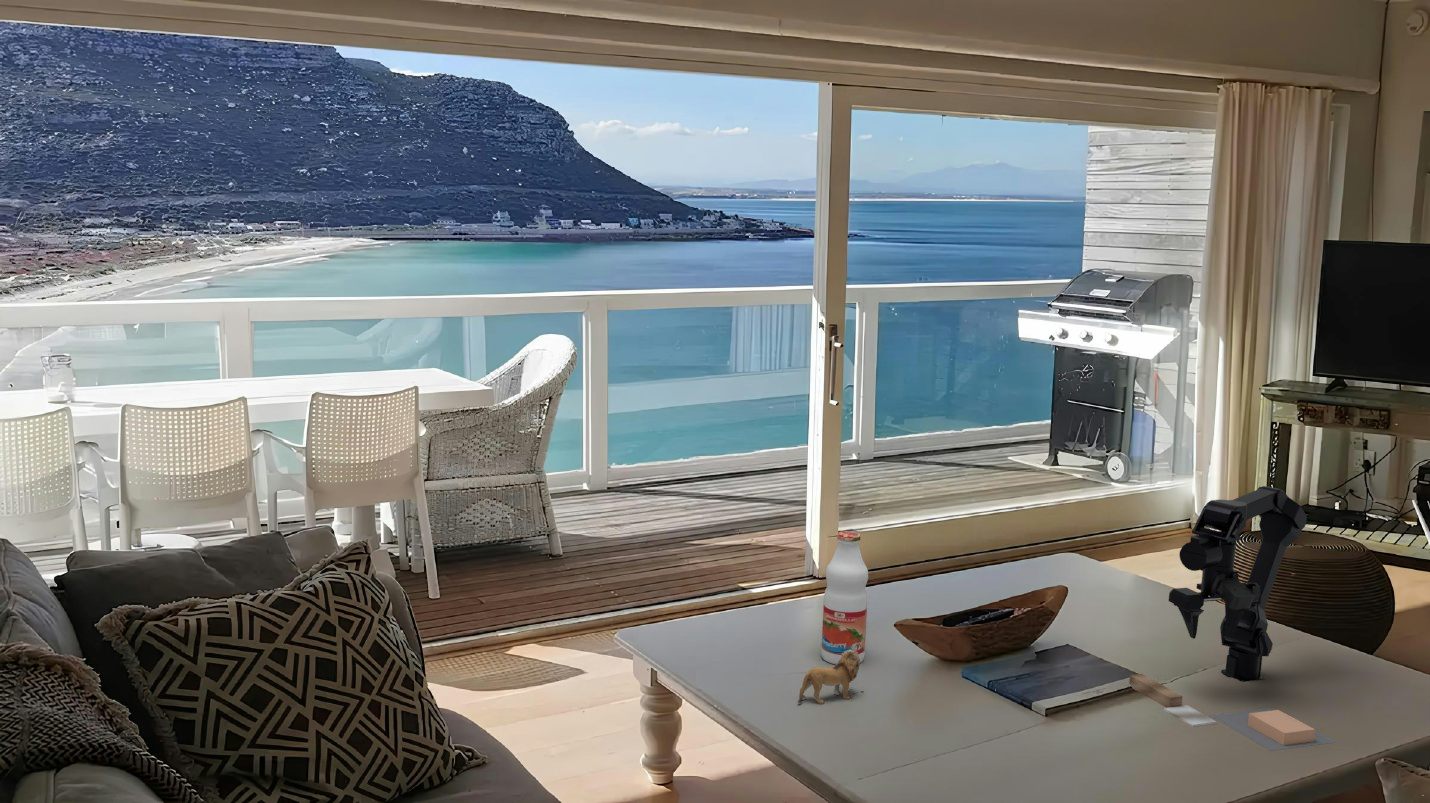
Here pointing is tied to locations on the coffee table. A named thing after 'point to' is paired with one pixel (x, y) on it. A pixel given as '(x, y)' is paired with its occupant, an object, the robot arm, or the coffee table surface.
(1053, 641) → the coffee table surface
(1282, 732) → the tile
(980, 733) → the coffee table surface
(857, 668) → the lion figurine
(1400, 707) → the coffee table surface
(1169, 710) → the spatula
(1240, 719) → the mat
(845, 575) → the fruit juice
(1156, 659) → the coffee table surface
